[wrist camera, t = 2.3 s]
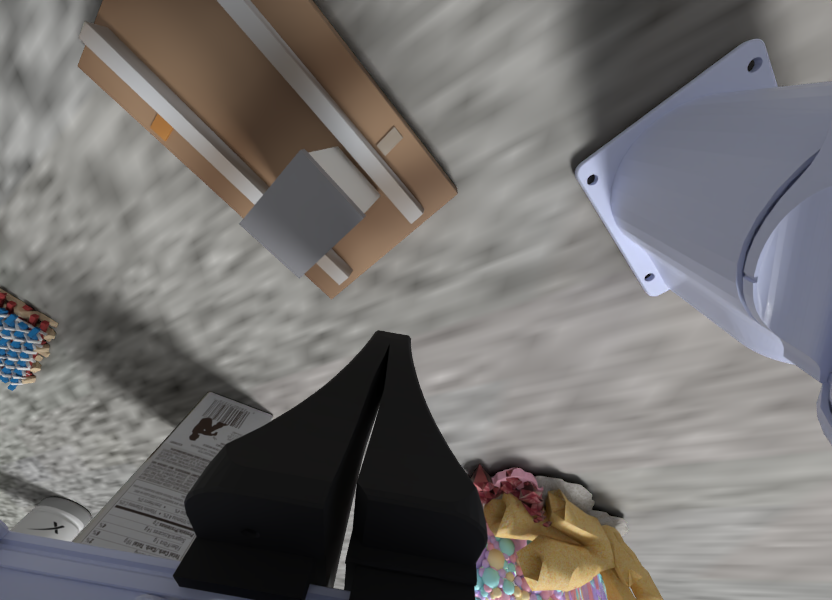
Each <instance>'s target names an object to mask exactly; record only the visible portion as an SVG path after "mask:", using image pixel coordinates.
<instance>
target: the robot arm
mask: <svg viewBox="0 0 832 600" xmlns="http://www.w3.org/2000/svg"><path fill="white" fill-rule="evenodd" d="M752 59H753V60H754V67H753V69H752V70H751V71H750V72H749V71H748V70H747V67H748V65H749V62H750V61H751V60H752ZM593 174H594V175H595V180H594V181H593V182H592V183H591V184H587V179H588V177H589V176H590V175H593ZM575 176H576V179H577V180H578V182H579V184H580V185H581V187H582V189H583V190H584V192H585V194H586V195H587V197H588V199H589V200H590V202H591V204H592V205H593V207H594V208H595V210H596V212H597V213H598V215H599V217H600V218H601V220H602V222H603V223H604V225H605V227H606V228H607V230H608V232H609V233H610V235H611V237H612V238H613V240H614V242H615V243H616V245H617V246H618V248H619V250H620V251H621V253H622V255H623V256H624V258H625V260H626V261H627V263H628V265H629V266H630V268H631V270H632V271H633V273H634V275H635V276H636V278H637V280H638V281H639V283H640V285H641V286H642V288H643V289H644V291H645V292H646V293H647V294H648V295H649V296H658V295H660V294H662V293H664V292H666V291H668V290H672V291H673V292H674V293H676V294H677V295H678V296H680V297H681V298H682V299H684V300H685V301H686V302H687V303H689V304H690V305H691V306H693V307H694V308H695V309H697V310H698V311H699V312H701V313H702V314H703V315H705V316H706V317H707V318H709V319H710V320H711V321H713V322H714V323H715V324H717V325H718V326H719V327H720V328H722V329H723V330H724V331H726V332H727V333H728V334H730V335H731V336H732V337H734V338H735V339H736V340H738V341H739V342H740V343H742V344H743V345H744V346H746V347H748V348H749V349H751V350H753V351H755V352H757V353H759V354H761V355H763V356H766V357H769V358H771V359H774V360H778V361H781V362H786V363H790V364H794V365H796V366H798V367H799V368H801V369H802V370H803V371H805V372H806V373H808V374H809V375H811V376H812V377H813V378H815V379H816V380H818V381H819V382H821V383H823V384H822V387H821V391H820V394H819V397H818V400H817V417H818V420H819V422H820V425H821V427H822V430H823V433H824V435H825V436H826V438H827V439H828V441H829V442H830V444H831V445H832V81H829V82H819V83H810V84H801V85H791V86H782V87H778V85H777V82H776V79H775V76H774V72H773V69H772V66H771V63H770V59H769V56H768V53H767V50H766V46H765V43H764V42H763V40H761V39H758V38H757V39H752V40H748V41H745V42H744V43H742V44H740V45H739V46H737V47H736V48H735V49H733V50H732V51H731V52H729V53H728V54H727V55H725V56H724V57H723V58H721V59H720V60H719V61H717V62H716V63H714V64H713V65H712V66H710V67H709V68H708V69H706V70H705V71H704V72H702V73H701V74H700V75H698V76H697V77H696V78H694V79H693V80H692V81H690V82H689V83H688V84H686V85H685V86H683V87H682V88H681V89H679V90H678V91H677V92H675V93H674V94H673V95H671V96H670V97H669V98H667V99H666V100H665V101H663V102H662V103H661V104H659V105H658V106H657V107H655V108H654V109H652V110H651V111H650V112H648V113H647V114H646V115H644V116H643V117H642V118H640V119H639V120H638V121H636V122H635V123H634V124H632V125H631V126H630V127H628V128H627V129H626V130H624V131H623V132H621V133H620V134H619V135H617V136H616V137H615V138H613V139H612V140H611V141H609V142H608V143H607V144H605V145H604V146H603V147H601V148H600V149H599V150H597V151H596V152H595V153H593V154H592V155H590V156H589V157H588V158H586V159H585V160H584V161H582V162H581V163H580V164H579V165H578V166H577V168H576V170H575ZM650 273H651V275H650V276H649V277H648V278H645V276H646V275H647V274H650ZM378 409H379V410H378ZM377 412H378V413H377ZM376 415H377V417H376ZM375 418H376V421H375ZM374 421H375V424H374ZM373 424H374V428H373V431H372V434H371V438H370V441H369V445H368V448H367V451H366V455H365V458H364V461H363V464H362V468H361V471H360V467H361V463H362V459H363V455H364V451H365V448H366V445H367V442H368V439H369V436H370V433H371V430H372V427H373ZM359 471H360V474H359ZM358 476H359V477H358ZM356 484H357V487H356ZM355 488H356V498H355V509H354V521H353V530H352V534H351V539H350V543H349V547H348V551H347V556H346V561H345V564H346V574H345V587H344V590H341V589H335V588H333V586H334V582H335V577H336V573H337V568H338V564H339V559H340V555H341V550H342V545H343V541H344V537H345V532H346V528H347V523H348V519H349V514H350V510H351V506H352V501H353V497H354V493H355ZM184 506H185V511H186V514H187V517H188V519H189V521H190V523H191V525H192V528H193V530H194V532H195V534H196V538H195V539H194V541H193V543H192V544H191V546H190V548H189V549H188V551H187V553H186V554H185V556H184V558H183V559H182V561H177V560H171V559H166V558H160V557H154V556H149V555H143V554H137V553H132V552H126V551H120V550H115V549H109V548H103V547H98V546H92V545H87V544H81V543H75V542H70V541H64V540H58V539H53V538H47V537H41V536H36V535H30V534H24V533H19V532H13V531H8V527H7V526H6V524H5V523H4V522H3V521H1V520H0V600H475V587H474V586H476V585H477V570H476V562H477V561H478V559H479V557H480V556H481V554H482V552H483V550H484V549H485V547H486V544H487V541H488V534H487V526H486V520H485V515H484V511H483V507H482V503H481V500H480V496H479V493H478V490H477V487H476V486H475V484H474V483H473V482H472V480H471V479H470V478H469V476H468V475H467V474H466V472H465V471H464V469H463V468H462V467H461V465H460V464H459V462H458V461H457V459H456V458H455V456H454V454H453V453H452V451H451V450H450V448H449V446H448V445H447V443H446V441H445V439H444V438H443V436H442V434H441V432H440V431H439V429H438V427H437V425H436V423H435V421H434V419H433V417H432V415H431V413H430V410H429V408H428V406H427V404H426V401H425V399H424V396H423V393H422V390H421V388H420V385H419V382H418V378H417V375H416V371H415V367H414V363H413V358H412V352H411V338H410V337H409V336H408V335H402V334H396V333H390V332H385V331H379V330H378V331H376V332H375V333H374V335H373V336H372V338H371V339H370V340H369V342H368V343H367V344H366V345H365V346H364V348H363V349H362V350H361V351H360V352H359V353H358V354H357V355H356V356H355V357H354V359H353V360H352V361H351V362H350V363H349V364H348V365H347V366H346V367H345V368H344V369H342V370H341V371H340V372H339V373H338V374H337V375H336V376H335V377H334V378H333V379H332V380H330V381H329V382H328V383H327V384H326V385H324V386H323V387H322V388H321V389H319V390H318V391H317V392H315V393H314V394H313V395H311V396H310V397H308V398H307V399H306V400H304V401H303V402H301V403H300V404H298V405H297V406H295V407H294V408H292V409H291V410H289V411H287V412H286V413H284V414H282V415H281V416H279V417H277V418H275V419H274V420H272V421H270V422H269V423H267V424H265V425H263V426H261V427H260V428H258V429H256V430H254V431H252V432H250V433H247V434H245V435H243V436H241V437H239V438H237V439H235V440H233V441H231V442H229V443H227V444H225V446H224V447H223V448H222V449H221V450H220V452H219V453H218V454H217V455H216V456H215V457H214V458H213V460H212V461H211V462H210V463H209V464H208V466H207V467H206V468H205V470H204V471H203V473H202V474H201V475H200V477H199V478H198V480H197V481H196V483H195V484H194V485H193V487H192V488H191V490H190V491H189V493H188V494H187V495H186V498H185V500H184Z"/></svg>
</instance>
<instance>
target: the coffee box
mask: <svg viewBox="0 0 832 600" xmlns="http://www.w3.org/2000/svg"><path fill="white" fill-rule="evenodd" d="M272 419H273V416H272V415H271V414H268V413H265V412H263V411H260V410H257V409H255V408H252V407H249V406H247V405H244V404H241V403H239V402H236V401H234V400H231V399H228V398H226V397H223V396H220V395H218V394H215V393H213V392H208V393H207V394H206V395H205V396H204V397H203V398H202V399H201V400H200V402H199V403H198V404H197V405H196V406H195V407H194V408H193V409H192V410H191V412H190V413H189V414H188V415H187V416H186V417H185V418H184V419H183V420H182V422H181V423H180V424H179V425H178V426H177V427H176V428H175V429H174V430H173V431H172V432H171V434H170V435H169V436H168V437H167V438H166V439H165V440H164V441H163V442H162V443H161V445H160V446H159V447H158V448H157V449H156V450H155V451H154V452H153V453H152V454H151V456H150V457H149V458H148V459H147V460H146V461H145V462H144V463H143V464H142V465H141V466H140V468H139V469H138V470H137V471H136V472H135V473H134V474H133V475H132V476H131V477H130V479H129V480H128V481H127V482H126V483H125V484H124V485H123V486H122V487H121V488H120V490H119V491H118V492H117V493H116V494H115V495H114V496H113V497H112V498H111V499H110V501H109V502H108V503H107V504H106V505H105V506H104V507H103V508H102V509H101V510H100V512H99V513H98V514H97V515H96V516H95V517H94V518H93V519H92V520H91V521H90V523H89V524H88V525H87V526H86V527H85V528H84V529H83V530H82V531H81V532H80V534H79V535H78V536H77V537H76V538H75V539H74V540H73V541H72V542H75V543H81V544H87V545H92V546H98V547H103V548H109V549H115V550H120V551H126V552H132V553H137V554H143V555H149V556H154V557H160V558H166V559H171V560H177V561H182V559H183V558H184V556H185V554H186V553H187V551H188V549H189V548H190V546H191V544H192V543H193V541H194V539H195V538H196V534H195V532H194V530H193V528H192V525H191V523H190V521H189V519H188V517H187V514H186V511H185V506H184V500H185V498H186V495H187V494H188V493H189V491H190V490H191V488H192V487H193V485H194V484H195V483H196V481H197V480H198V478H199V477H200V475H201V474H202V473H203V471H204V470H205V468H206V467H207V466H208V464H209V463H210V462H211V461H212V460H213V458H214V457H215V456H216V455H217V454H218V453H219V452H220V450H221V449H222V448H223V447H224V446H225V444H227V443H229V442H231V441H233V440H235V439H237V438H239V437H241V436H243V435H245V434H247V433H250V432H252V431H254V430H256V429H258V428H260V427H261V426H263V425H265V424H267V423H269V422H270V421H272Z"/></svg>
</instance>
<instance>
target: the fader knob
mask: <svg viewBox="0 0 832 600" xmlns="http://www.w3.org/2000/svg"><path fill="white" fill-rule="evenodd" d="M380 196H381V195H380V194H379V193H378V191H377V190H376V189H375V188H374V187H373V186H372V185H371V183H370V182H369V181H368V180H367V179H366V178H365V177H364V175H363V174H362V173H361V172H360V171H359V170H358V169H357V167H356V166H355V165H354V164H353V163H352V162H351V161H350V159H349V158H348V157H347V156H346V155H345V154H344V153H343V152H342V150H341V149H340V148H339V147H338V146H336V147H332V148H327V149H323V150H318V151H313V152H309V153H308V152H307V151H306V150H305V149H302V150H300V151H299V152H298V153H297V155H296V156H295V157H294V158H293V159H292V161H291V162H290V163H289V164H288V165H287V167H286V168H285V169H284V170H283V171H282V173H281V174H280V175H279V176H278V177H277V179H276V180H275V181H274V182H273V183H272V185H271V186H270V187H269V188H268V189H267V191H266V192H265V193H264V194H263V195H262V197H261V198H260V199H259V200H258V201H257V203H256V204H255V205H254V206H253V208H252V209H251V210H250V211H249V212H248V214H247V215H246V216H245V217H244V218H243V220H242V221H241V222H240V223H239V224H240V225H241V226H242V227H243V228H244V229H245V230H246V231H247V232H248V233H250V234H251V235H252V236H253V237H254V238H255V239H256V240H257V241H258V242H259V243H261V244H262V245H263V246H264V247H265V248H266V249H267V250H268V251H269V252H271V253H272V254H273V255H274V256H275V257H276V258H277V259H278V260H279V261H280V262H282V263H283V264H284V265H285V266H286V267H287V268H288V269H289V270H290V271H292V272H293V273H294V274H295V275H296V276H297V277H298V278H300V277H302V276H303V275H304V274H305V273H306V272H307V271H308V270H309V269H310V268H311V267H312V266H313V265H314V264H315V263H317V262H318V261H319V260H320V259H321V258H322V257H323V256H324V255H325V254H326V253H327V252H328V251H329V250H330V249H331V248H333V247H334V246H335V245H336V244H337V243H338V242H339V241H340V240H341V239H342V238H343V237H344V236H345V235H346V234H347V233H349V232H350V231H351V230H352V229H353V228H354V227H355V226H356V225H357V224H358V223H359V222H360V221H361V220H362V219H363V218H364V217H365V216H366V215H365V214H364V213H365V212H366V211H367V210H368V209H369V208H370V207H371V206H372V205H373V204H374V203H375V201H376V200H377V199H378V198H379V197H380Z"/></svg>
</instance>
